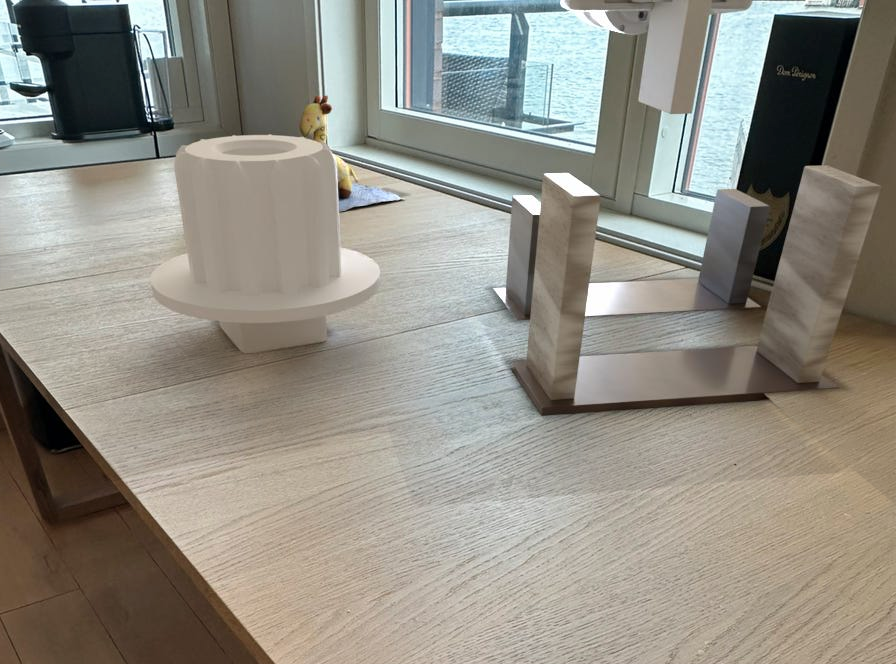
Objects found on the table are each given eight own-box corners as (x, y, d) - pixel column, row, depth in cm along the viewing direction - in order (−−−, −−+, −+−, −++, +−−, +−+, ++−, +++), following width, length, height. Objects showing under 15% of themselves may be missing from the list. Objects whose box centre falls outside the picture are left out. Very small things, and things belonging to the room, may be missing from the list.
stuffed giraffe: (268, 196, 150) (263, 89, 140) (350, 186, 160) (351, 85, 149) (321, 218, 141) (320, 105, 131) (405, 206, 151) (410, 100, 140)
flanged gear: (192, 392, 86) (157, 183, 74) (141, 315, 103) (106, 135, 91) (417, 354, 94) (419, 160, 82) (334, 288, 112) (326, 120, 100)
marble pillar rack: (778, 351, 96) (831, 161, 84) (836, 394, 87) (905, 189, 75) (509, 367, 91) (525, 170, 80) (541, 415, 82) (564, 201, 70)
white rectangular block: (658, 100, 95) (692, -117, 83) (692, 113, 88) (734, -121, 76) (637, 101, 94) (668, -117, 83) (670, 114, 87) (708, -122, 76)
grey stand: (717, 283, 115) (739, 185, 107) (760, 313, 105) (787, 208, 98) (492, 294, 110) (498, 193, 103) (516, 326, 101) (525, 218, 94)
